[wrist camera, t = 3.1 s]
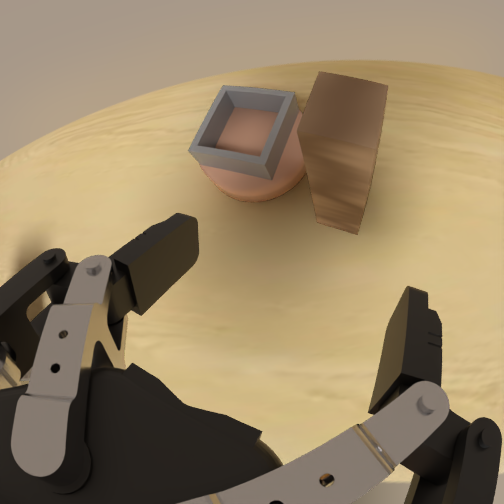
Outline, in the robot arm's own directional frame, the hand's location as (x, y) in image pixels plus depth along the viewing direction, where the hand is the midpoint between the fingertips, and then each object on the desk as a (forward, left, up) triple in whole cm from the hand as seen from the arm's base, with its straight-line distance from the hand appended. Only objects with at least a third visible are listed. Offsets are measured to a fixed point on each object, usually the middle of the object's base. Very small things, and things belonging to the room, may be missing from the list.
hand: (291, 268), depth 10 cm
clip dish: (+9, -11, -13) cm, 20 cm away
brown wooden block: (0, -8, -13) cm, 16 cm away
